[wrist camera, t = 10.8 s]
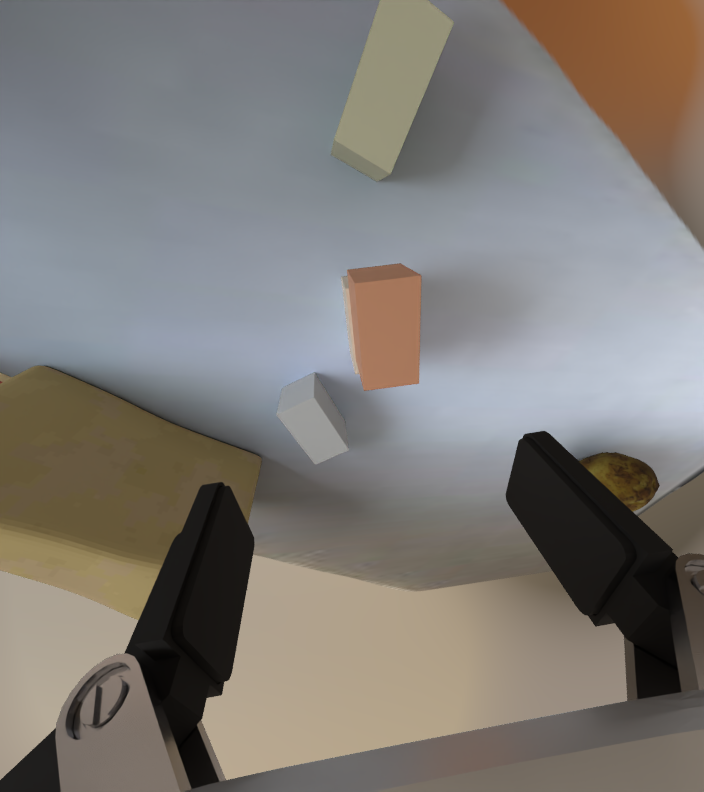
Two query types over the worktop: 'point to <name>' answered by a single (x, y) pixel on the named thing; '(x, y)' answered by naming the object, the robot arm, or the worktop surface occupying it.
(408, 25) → the sage brick
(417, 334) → the terracotta brick
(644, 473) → the potato
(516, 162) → the worktop surface
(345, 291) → the cream brick
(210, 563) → the robot arm
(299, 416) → the slate brick
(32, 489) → the cheese
